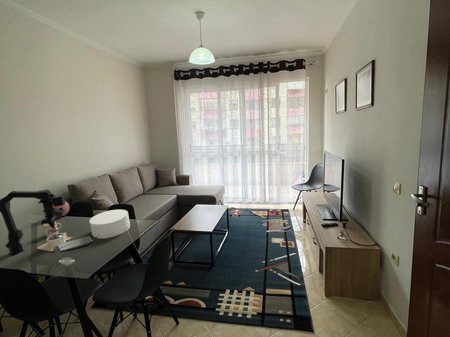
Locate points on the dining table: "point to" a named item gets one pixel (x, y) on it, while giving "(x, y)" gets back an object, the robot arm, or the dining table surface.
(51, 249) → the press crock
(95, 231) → the plate stack
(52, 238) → the plunger
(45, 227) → the teacup with lid
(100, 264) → the dining table surface
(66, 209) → the balloon
